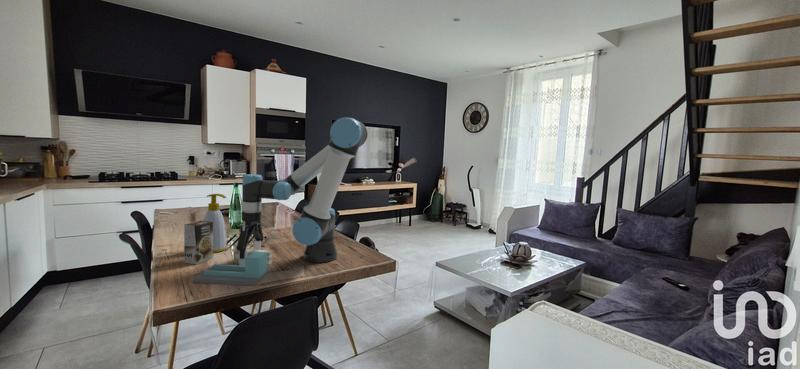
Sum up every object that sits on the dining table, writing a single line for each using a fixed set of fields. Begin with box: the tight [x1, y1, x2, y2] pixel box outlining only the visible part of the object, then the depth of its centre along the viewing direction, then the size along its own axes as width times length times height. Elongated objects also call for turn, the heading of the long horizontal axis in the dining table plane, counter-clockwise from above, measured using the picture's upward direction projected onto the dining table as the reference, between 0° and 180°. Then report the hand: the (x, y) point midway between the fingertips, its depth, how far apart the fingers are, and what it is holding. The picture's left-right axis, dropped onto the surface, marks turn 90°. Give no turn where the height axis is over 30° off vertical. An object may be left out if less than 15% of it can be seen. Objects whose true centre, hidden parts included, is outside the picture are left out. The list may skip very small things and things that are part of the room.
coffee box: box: [183, 220, 214, 265], centre depth 142 cm, size 9×6×16 cm
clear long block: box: [233, 248, 274, 265], centre depth 145 cm, size 15×4×5 cm, turn 89°
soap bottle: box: [203, 193, 228, 254], centre depth 157 cm, size 11×12×26 cm
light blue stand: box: [192, 251, 271, 286], centre depth 127 cm, size 22×14×9 cm, turn 90°
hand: (250, 260), depth 145 cm, fingers open, 13 cm apart
